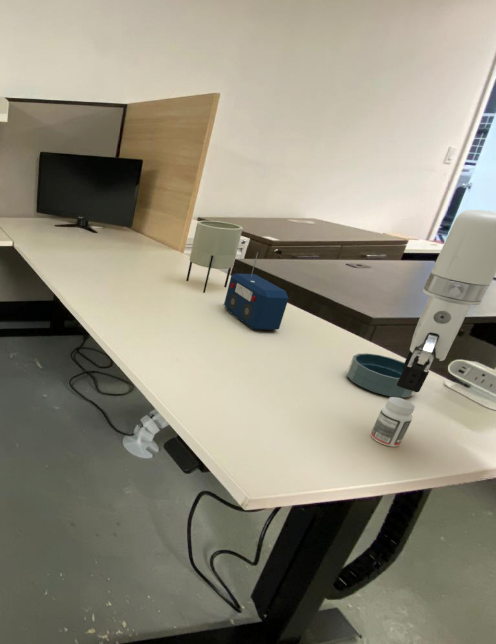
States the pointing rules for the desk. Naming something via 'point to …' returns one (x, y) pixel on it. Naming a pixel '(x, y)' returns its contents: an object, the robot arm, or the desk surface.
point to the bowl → (378, 374)
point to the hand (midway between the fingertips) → (409, 379)
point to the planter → (215, 246)
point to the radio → (256, 301)
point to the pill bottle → (393, 422)
